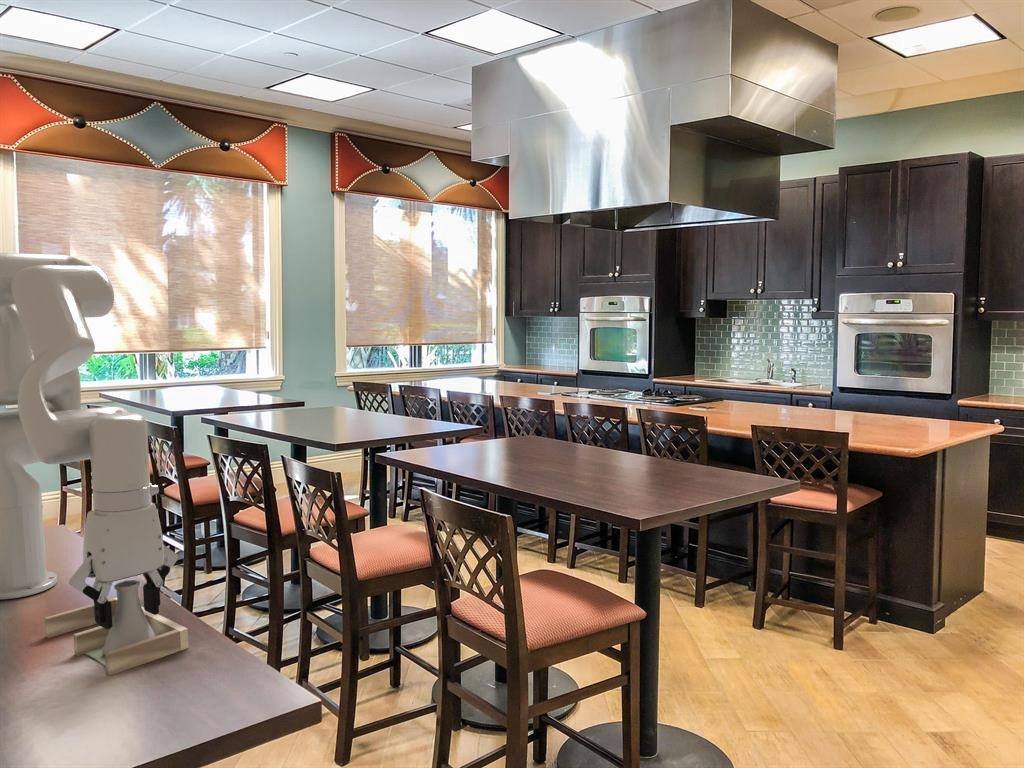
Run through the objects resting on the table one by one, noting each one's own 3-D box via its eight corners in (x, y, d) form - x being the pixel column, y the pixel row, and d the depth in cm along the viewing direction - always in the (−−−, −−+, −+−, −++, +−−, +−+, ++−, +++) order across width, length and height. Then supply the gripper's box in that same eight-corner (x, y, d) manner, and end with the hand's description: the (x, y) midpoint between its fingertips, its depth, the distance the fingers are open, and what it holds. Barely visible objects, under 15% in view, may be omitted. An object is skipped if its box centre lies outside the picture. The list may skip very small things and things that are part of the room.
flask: (135, 662, 118) (131, 593, 117) (91, 657, 120) (87, 589, 119) (167, 642, 125) (164, 577, 124) (126, 637, 127) (122, 573, 126)
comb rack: (45, 636, 128) (44, 617, 127) (121, 613, 137) (120, 596, 136) (109, 675, 114) (108, 654, 114) (188, 647, 123) (187, 628, 123)
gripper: (166, 484, 129) (171, 596, 131) (47, 506, 115) (55, 631, 117) (192, 492, 124) (197, 608, 126) (71, 516, 111) (79, 645, 113)
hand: (128, 618), depth 122 cm, fingers open, 6 cm apart
